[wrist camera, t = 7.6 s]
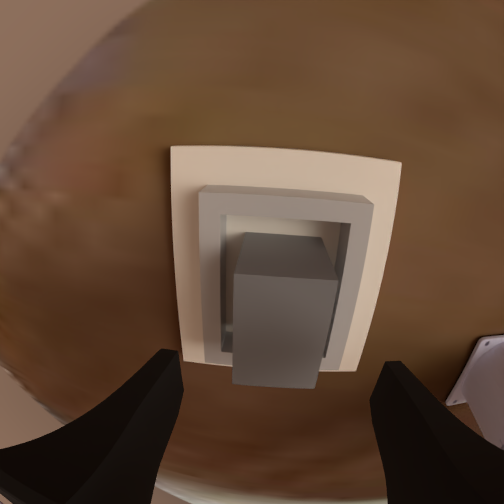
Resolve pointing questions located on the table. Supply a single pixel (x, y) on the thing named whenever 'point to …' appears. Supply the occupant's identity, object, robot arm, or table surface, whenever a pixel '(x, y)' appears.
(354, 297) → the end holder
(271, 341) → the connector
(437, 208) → the table surface
